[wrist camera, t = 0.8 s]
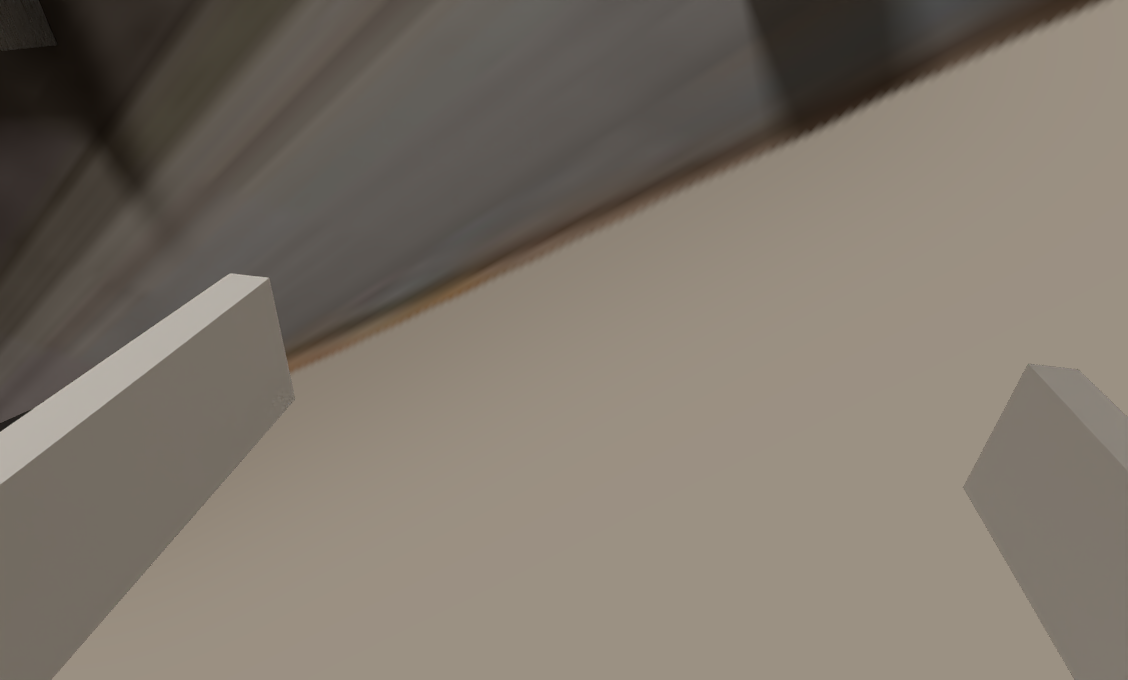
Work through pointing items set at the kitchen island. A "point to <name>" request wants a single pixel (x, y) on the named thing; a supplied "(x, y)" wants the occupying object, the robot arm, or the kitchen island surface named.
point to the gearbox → (23, 25)
